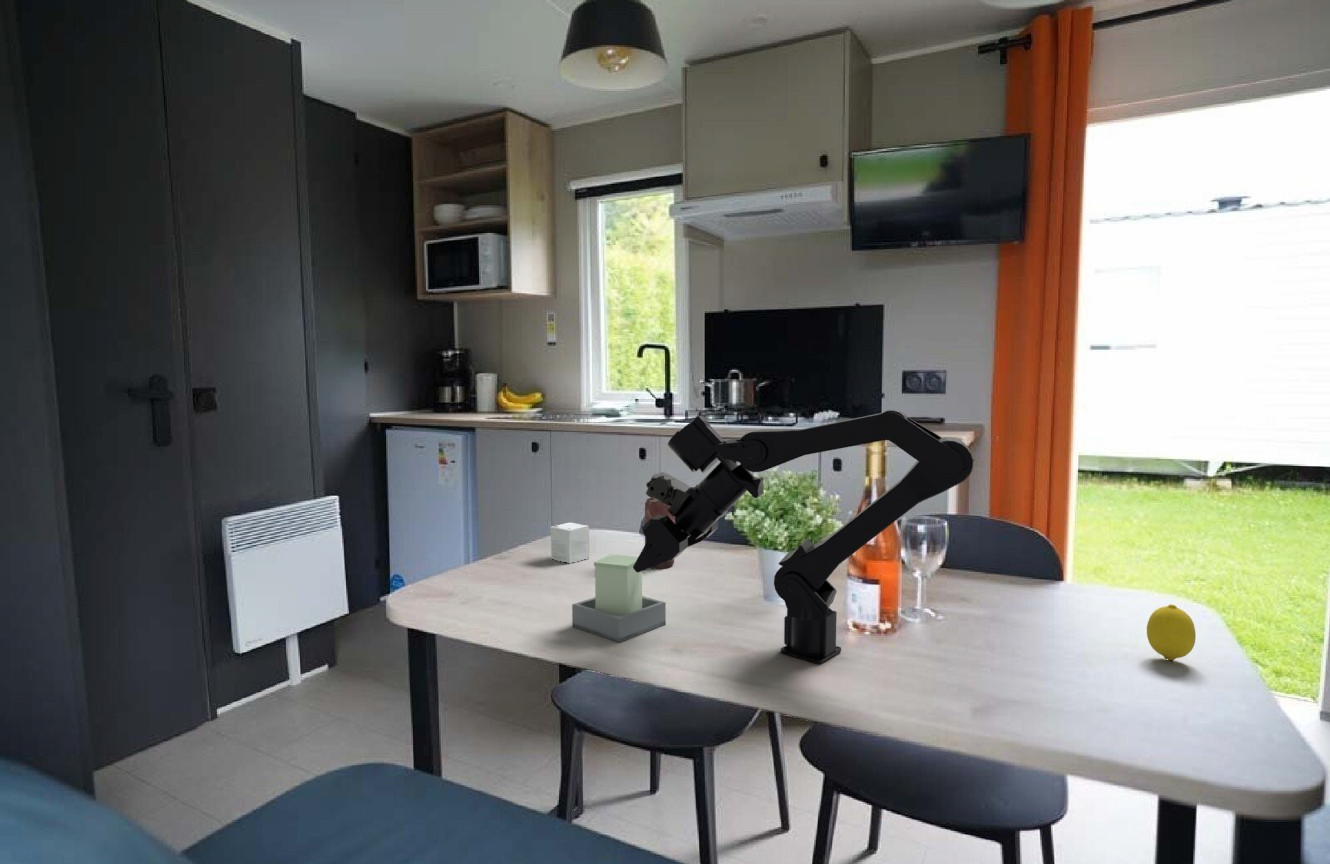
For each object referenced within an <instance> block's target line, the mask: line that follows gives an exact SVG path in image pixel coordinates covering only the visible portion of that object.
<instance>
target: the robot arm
mask: <svg viewBox="0 0 1330 864" xmlns="http://www.w3.org/2000/svg"><path fill="white" fill-rule="evenodd" d="M882 441H889V442H891V443H892V444H894V445H895V446H896V447H898V448H899V449H901V450H902V451H903V452H905V453H906V454H908V456H910V457H912V458H913V459H915V460H916V461H915V462H914V464H913V465H912V466H911V467H910V469H909V470H908V471H907V472H906V473H905V474H904V476H903V477H902V478H901V479H900V480H899V481H897V483H895V484H893V485H891V487H890V488H888V489H887V490H886V491H884V492H883V494H881V495H880V496H878V497H877V498H875V499H874V500H873V501H872V502H871V503H869V505H867V506H865V507H864V508H863V509H862V510H861V511H860V512H859V513H857V514H856V515H854V516H853V517H852V518H851V519H850V520H848V521H847V522H846V523H845V524H843V525H842V526H840V528H838V529H837V530H835V531H834V532H833V533H832V534H830V535H829V536H828V537H827V538H825V539H824V540H821V541H820V542H817V543H815V544H813V543H812V542H811V539H810V537H806V539H805V540H804V541H802V543H801V544H800V546H799V547H797V548H796V549H794V550H792V551H787V554H785V556H784V557H783V558H781V560H780V561H779V562H778V565H779V566H780V568H779V569H778V570H777V571H776V572H775V575H774V576H773V578H774V579H773V586H774V590H775V592H776V594H777V595H778V597H779V598H780V599H782V600H783V602H784V603H785V606H786V615H785V616H784V618H783V621H784V623H783V624H784V625H783V629H784V630H783V631H784V633H783V644H784V646H783V647H781V648H780V653H781V654H785V655H789V656H792V657H794V658H795V657H796V658H799V659H801V660H805V661H809V662H811V663H814V664H815V663H816V664H823V663H824V662H825V661H827V660H829V659H831V658H832V657H834V656H835V655H837V654H839V653H840V652H842V647H841V646H838V645H837V611H836V610H832V608H830V606H831V605H832V604H833V602H834V601H835V600H834V599H835V597H836V595H837V589H836V588H835V587H834V585H832V584H831V582H829V581H828V579H829V577H830V576H831V574H832V573H833V572H835V570H836V569H837V568H838V567H839V565H841V564H842V563H843V562H844V561H846V560H847V559H848V558H849V557H851V556H852V555H854V554H855V553H856V552H857V551H858V550H860V549H862V547H864V546H865V545H866V544H868V543H870V541H871V540H873V539H874V538H875V537H877V536H878V535H879V534H881V533H882V532H883V531H884V530H886V529H887V528H888V527H890V526H891V525H892V524H893V523H895V522H896V521H897V520H899V519H900V518H901V517H903V516H904V515H905V514H906V513H907V512H909V511H910V510H912V509H913V508H914V507H916V506H917V505H919V504H920V503H922V502H924V501H926V500H928V499H931V498H933V497H936V496H938V495H939V494H940V495H941V494H942V493H944V492H946V491H948V490H950V489H951V488H954V487H956V486H957V485H960V484H961V483H963V482H965V481H966V480H967V478H969V477H970V475H971V473H972V472H973V466H974V459H973V456H972V455H973V454H972V453H971V450H970V447H968V445H967V444H966V443H965V442H964V441H962V440H961V439H958V438H956V437H949V436H945V437H942V436H940V435H939V434H937V433H936V432H934V431H932V430H930V429H929V428H927V427H925V426H924V425H922V424H920V423H918V422H916V421H914V420H913V419H911V418H910V417H909V416H906V413H904V412H902V411H901V410H899V409H888V410H886V411H884V412H881V413H880V412H879V413H876V414H870V415H866V416H862V417H861V416H860V417H856V418H851V419H846V420H841V421H835V422H831V423H825V424H821V425H816V426H815V425H814V426H810V427H806V428H805V427H804V428H763V429H758V430H754V431H751V432H747V433H745V434H743V435H742V436H741V438H740V439H735V438H730V439H727V440H725V439H724V438H722V436H721V435H720V434H719V433H718V432H717V431H716V430H715V429H714V428H713V427H712V426H711V424H710V422H709V421H708V420H707V419H706V417H704V416H703V415H697V416H696V417H695V418H694V419H693V420H692V421H690V422H689V423H687V424H686V425H685V426H684V427H683V428H681V429H679V430H677V431H676V432H675V433H674V434H673V435H672V436H671V438H670V439H669V440H668V442H667V446H668V448H670V450H671V451H672V452H673V453H674V454H675V455H676V457H678V458H679V459H680V460H681V461H682V463H684V465H685V466H686V467H687V468H688V469H689V471H691V472H692V473H696V472H698V471H700V472H701V473H702V474H705V473H706V472H707V471H709V470H710V469H711V468H712V467H713V466H714V465H715V464H716V463H717V462H718V461H719V463H718V464H717V465H716V466H715V467H714V468H713V469H712V470H711V471H710V472H709V473H708V474H707V475H706V476H705V477H704V478H703V479H702V480H701V481H700V482H699V483H698V484H696V485H695V486H690V485H688V484H687V483H685V482H684V481H682V480H680V479H678V478H676V477H674V476H673V475H670V474H669V473H666V472H662V471H661V472H658V473H656V474H653V475H652V477H651V479H650V480H649V481H647V483H646V484H645V486H646V488H647V489H646V492H645V494H646V496H648V497H649V498H655V499H657V500H659V501H661V502H663V503H664V504H666V505H668V506H670V507H669V508H668V509H667V511H668V512H669V513H670V514H671V515H672V516H674V522H673V521H672V520H671V519H670V518H669V517H668V516H667V515H658V516H656V517H654V518H651V519H650V520H649V521H648V522H647V523H646V524H645V523H644V525H643V526H642V527H641V530H642V534H643V536H644V538H645V537H646V544H645V543H644V546H643V547H642V550H641V551H640V553H639V555H638V556H637V557H638V559H637V560H636V562H635V564H634V566H633V569H634V570H635V571H636V572H641V571H642V572H644V571H645V570H648V569H652V568H651V567H654V566H657V565H659V564H662V563H665V562H668V561H671V560H673V559H674V560H675V559H676V558H678V557H679V556H680V555H681V554H682V553H683V552H684V551H685V550H686V549H687V548H689V547H691V546H694V545H696V544H698V543H701V542H702V541H704V540H706V539H707V538H709V537H710V536H711V535H713V533H714V532H715V531H716V530H718V528H719V519H721V518H722V517H724V516H725V515H726V514H727V513H728V512H729V509H730V508H732V507H733V505H734V504H735V503H736V502H738V500H739V499H741V498H742V497H743V496H744V495H745V494H746V493H747V492H748V493H749V494H750V495H751V496H752V497H753V498H754V499H758V498H759V497H761V496H762V495H764V494H765V493H764V492H765V491H764V480H765V478H764V477H762V476H760V477H759V476H758V477H757V476H754V475H753V474H752V473H760V472H765V471H767V470H770V469H772V468H775V467H777V466H780V465H783V464H786V463H788V462H790V461H794V460H795V459H798V458H801V457H803V456H806V455H808V456H809V455H812V454H817V453H824V452H830V451H834V450H839V449H845V448H850V447H856V446H861V445H865V444H866V445H867V444H871V443H877V442H882ZM735 462H737V463H739V465H738V464H737V463H735ZM751 472H752V473H751Z"/></svg>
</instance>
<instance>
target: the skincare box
mask: <svg viewBox="0 0 1330 864" xmlns="http://www.w3.org/2000/svg"><path fill="white" fill-rule="evenodd" d="M550 553H551V560H552V559H554V560H553V561H556V560H557V562H560V561H561V563H564V562H567V563H566V564H568V563H571V562H575V563H578V562H577V561H579V562H582V561H581V560H583V561H585V560H584V559H586V560H588V558H589V559H590V555H591V554H590V526H589V525H586V524H585V525H584V524H580V523H575V522H565V523H562V524H561V523H560V524H557V525H552V526H550ZM571 564H572V563H571Z"/></svg>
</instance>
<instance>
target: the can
mask: <svg viewBox="0 0 1330 864" xmlns="http://www.w3.org/2000/svg"><path fill="white" fill-rule="evenodd" d="M669 507H670V506H668V505H666V504H664V503H663V502H661V501H659V500H657V499H655V498H651V497H649V498H647V499H646V500H645V503H644V525H645V524H646V523H647V522H648V521H649V520H650V519H651V518H654V517H656V516H658V515H667V516H668V517H669V518H670V519H671V520H672V521H673V522H674V523H675V520H674V518H675V517H674V516H672V515H671V514H670V513H669V512H668V511H667V509H668V508H669ZM645 544H646V537H645V536H644V545H645ZM674 564H675V558H674V559H673V560H671V561H668V562H665V563H662V564H659V565H657V566H654V567H651V568H650V569H655V570H656V569H658V570H659V569H668V568H672V567H673V566H674Z"/></svg>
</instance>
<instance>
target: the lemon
mask: <svg viewBox="0 0 1330 864" xmlns="http://www.w3.org/2000/svg"><path fill="white" fill-rule="evenodd" d="M1146 637H1147V640H1148V643H1149V645H1150V647H1151V648H1152V650H1154V651H1155V652H1156V653H1157V654H1158V655H1160V656H1162V657H1163V658H1164V660H1166V659H1168V660H1173V661H1174V660H1176V659H1179V658H1180V659H1181V658H1184V657H1185V656H1187V655H1189V653H1190V652H1192V650H1193V649H1194V647H1195V644H1196V627H1195V624H1194V621H1193V619H1192V617H1190V615H1189V614H1188V613H1187V612H1186V611H1184V610H1183V609H1181V608H1180V607H1178V606H1177V605H1175V604H1172V603H1171V604H1168V605H1165V606H1162V607H1159V608H1157V609H1155V610H1154V611H1153V612H1152V613H1151V615H1150V616H1149V618H1148V621H1147V624H1146Z"/></svg>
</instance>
